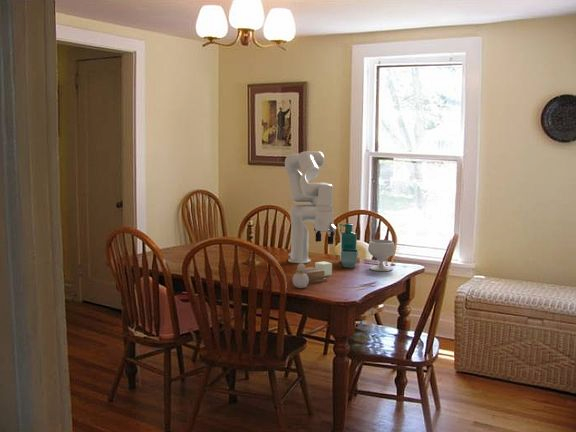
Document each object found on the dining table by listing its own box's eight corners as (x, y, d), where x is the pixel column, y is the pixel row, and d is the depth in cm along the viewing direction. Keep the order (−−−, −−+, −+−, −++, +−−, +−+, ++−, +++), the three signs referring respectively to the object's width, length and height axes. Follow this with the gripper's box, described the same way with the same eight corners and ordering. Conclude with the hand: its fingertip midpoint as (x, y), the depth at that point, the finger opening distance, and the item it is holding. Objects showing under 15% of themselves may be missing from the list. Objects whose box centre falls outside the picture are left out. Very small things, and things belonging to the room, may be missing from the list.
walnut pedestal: (292, 279, 298) (292, 269, 298) (311, 276, 305) (312, 266, 305) (307, 284, 289) (307, 273, 288) (327, 281, 295) (327, 270, 295)
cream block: (315, 274, 311) (315, 262, 311) (324, 272, 315) (324, 261, 314) (322, 276, 306) (322, 264, 306) (331, 275, 310) (332, 263, 309)
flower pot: (356, 268, 326) (357, 252, 325) (340, 268, 327) (340, 251, 326) (358, 265, 334) (358, 249, 333) (341, 264, 336) (342, 248, 335)
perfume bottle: (304, 285, 286) (304, 259, 285) (313, 289, 278) (314, 263, 276) (289, 286, 283) (289, 260, 282) (298, 291, 275) (299, 264, 273)
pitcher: (355, 261, 347) (356, 222, 345) (356, 264, 339) (357, 224, 336) (337, 260, 347) (338, 222, 345) (338, 263, 339) (339, 224, 336)
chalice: (386, 266, 334) (387, 238, 332) (399, 271, 321) (400, 242, 319) (363, 267, 330) (363, 239, 328) (374, 272, 316) (375, 243, 315)
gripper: (308, 207, 312) (307, 241, 313) (330, 210, 298) (329, 245, 299) (320, 206, 316) (319, 239, 318) (342, 209, 302) (341, 244, 304)
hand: (324, 242), depth 309 cm, fingers open, 9 cm apart
